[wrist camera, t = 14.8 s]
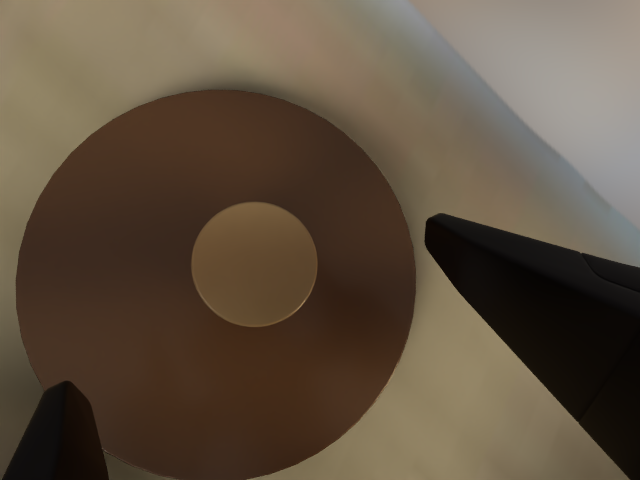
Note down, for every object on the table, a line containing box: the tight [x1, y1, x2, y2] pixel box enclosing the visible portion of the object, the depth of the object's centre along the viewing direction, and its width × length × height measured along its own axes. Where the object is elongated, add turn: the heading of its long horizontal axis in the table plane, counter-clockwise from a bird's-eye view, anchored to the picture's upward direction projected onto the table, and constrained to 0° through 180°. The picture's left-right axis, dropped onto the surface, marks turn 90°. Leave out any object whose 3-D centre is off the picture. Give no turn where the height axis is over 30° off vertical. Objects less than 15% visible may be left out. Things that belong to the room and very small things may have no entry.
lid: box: [16, 90, 416, 480], centre depth 13 cm, size 15×15×7 cm
